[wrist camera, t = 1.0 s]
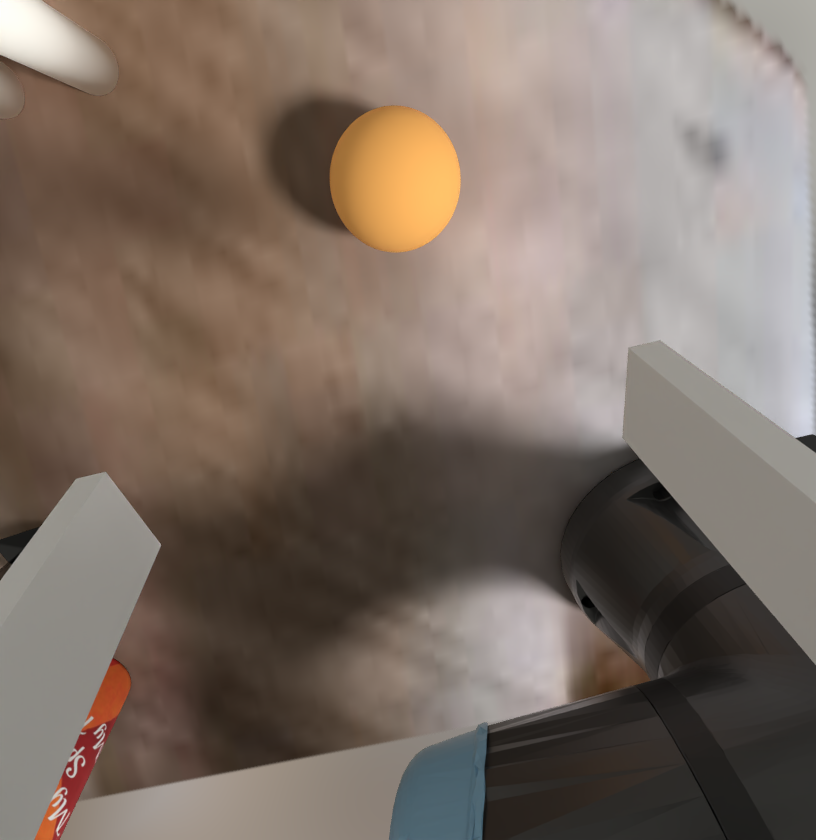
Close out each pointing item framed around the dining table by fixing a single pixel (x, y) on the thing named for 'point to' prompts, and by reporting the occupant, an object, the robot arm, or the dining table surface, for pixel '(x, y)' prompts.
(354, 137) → the ball
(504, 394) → the dining table surface
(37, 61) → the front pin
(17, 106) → the pin
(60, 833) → the coffee cup
